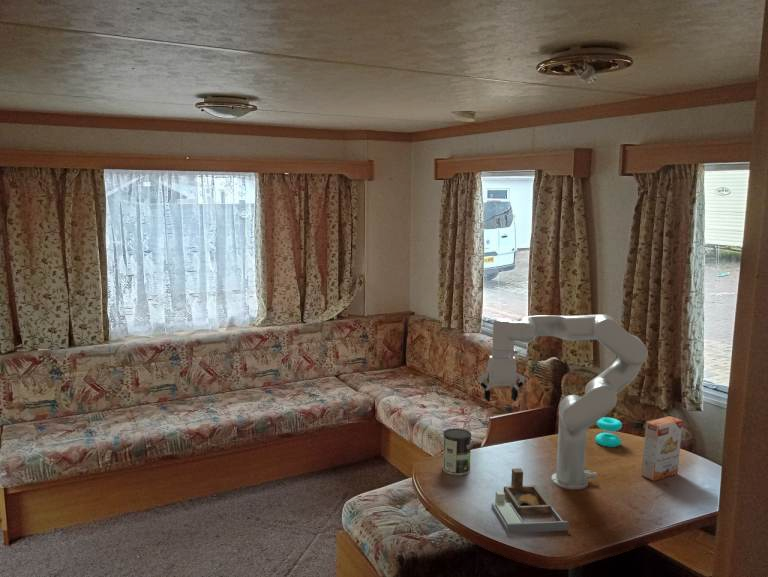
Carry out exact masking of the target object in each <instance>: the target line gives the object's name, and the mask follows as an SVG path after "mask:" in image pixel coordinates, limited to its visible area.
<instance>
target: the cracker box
mask: <svg viewBox="0 0 768 577" xmlns="http://www.w3.org/2000/svg"><path fill="white" fill-rule="evenodd" d="M683 422H684V420H682V419H680V418H677V417H674V416H664V417H660V418H657V419H653V420H648V421H646V422H645V431H644V441H643V454H642V463H641V475H642V477H644V478H646V479H648V478H649V479H648V480H650V479H651V481H652V480H653V482H656V481H658V479H659V480H662V479H664V478H663V477H665V478H667V477H666V476H668V477H670V476H669V475H671V476H673V475H672V474H674V473H677V472H678V470H679V462H680V452H681V444H682V443H681V442H682V433H683V425H684V424H683ZM677 474H678V473H677ZM641 475H640V476H641ZM661 478H662V479H661ZM655 480H656V481H655Z"/></svg>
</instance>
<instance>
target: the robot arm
mask: <svg viewBox="0 0 768 577" xmlns="http://www.w3.org/2000/svg"><path fill="white" fill-rule="evenodd" d="M492 324H493V325H492V343H491V344H492V347H491V349H492V350H491V355H489V357H488V361H487V368H486V372H485V373H484V374H482V375H480V376H478V377H477V380H478V382H479V384H480V386H481V387H482V388H483V389H484V396H483V397H484V399H485V400H486V401H487V403H488V402H491V390H490V389H491V388H492V387H493V386H497V387H498V386H512V388H511V400H513V401H514V402H515V401H517V398H518V393H519V392H518V391H519V390H520V388H521V387H522V386H523V385H524V383H525V381H526V378H527V377H525V376H524V375H522V374H520V373H519V372H517V362H516V357H515V355H517V354H518V350H517V349H515V342H520V343H525V344H528V343H531V342H533V341H534V340H535V339H536V338H537V337H554V338H558V339H561V340H564V341H571V342H572V341H591V340H593V341H594V340H597V342H599V343H600V344H601V345H602V346H603V347H605V348H606V350H609V352H611V353H612V354H614V355H615V356H616V359H615V360H614V361H613V363H612V364H611V365H610V366H608V367H607V368H606V369H605V370H604V371H602V372H600V373H599V374H597V376H595V377H593V378H592V379H591V380H590V381H588V383H586V384H585V386H584V393H585V394H583V396H580V395H577V394H569V395H566V396H564V398H563V399H562V400H561V401H560V404H559V406H558V433H557V434H558V435H557V437H558V438H557V448H556V449H557V450H556V451H557V453H556V469H555V471H556V472H555V473H553V474H552V475H551V482H552V484H554V485H555V486H557V487H559V488H563V489H566V490H583V489H585V488H587V487H588V485H589V479H598V473H597V472H596V471H594V472H591V470H589V469H587V470H585V464H586V449H587V438H588V437H587V435H588V434H587V433H588V432H587V431H588V428H590V427H592V425H594V424H597V421H598V420H600V419H601V418H603V417H605V416H607V415H608V414H609V413H610V412H612V410H613V409H614V408H615V406H616V404H617V402H618V396H617V395H618V394H619V393H620V392H621V391H623V390H624V389H625V388H626V387H627V386H629V385H630V384H631V383H632V382H633V381H634V380H636V378H637V376H638V374H639V373H640V371H641V368H642V366H643V364H644V363H645V362H646V361H647V358H648V356H649V351H648V348H647V346H646V344H644V342H643V341H642V340H641V339H640V338H639V337H638V335H637V336H636V335H635V334H631V333H629V332H628V331H627V330H626V329H625V328H623V327H622V325H620V324H619V323H618V322H617V321H616V320H615V319H614V318H613V317H612V316H611V315H609V314H600V313H599V314H584V315H529V316H522V317H520V318H519V319H518V320H517V321H514V320H513V319H511V318H504V317H501V318H495V319H494V321H493V323H492ZM485 379H486V383H485V382H484V380H485ZM518 379H519V381H517V380H518Z"/></svg>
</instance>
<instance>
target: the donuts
mask: <svg viewBox="0 0 768 577" xmlns="http://www.w3.org/2000/svg"><path fill="white" fill-rule="evenodd" d="M596 425H597V427H598V428H600V429H601V430H603V431H607V432H600V433H599V434H597V435H596V436H595V442H596V443H597V444H598V445H600V446H603V447H606V446H607V448H616V446H617V447H619V446H620V445H621V444H622V440H621V438H620V437H619V436H618V435H617V434H614V433H612V432H617V431H620V430H621V429H622V428H623V423H622V422H621V421H620V420H619V419H616V418H615V417H614V418H613V417H608V416H607V417H605V416H604V417H603V418H601V419H600V420H598V421H597V422H596ZM610 432H611V433H610Z"/></svg>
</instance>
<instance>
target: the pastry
mask: <svg viewBox="0 0 768 577" xmlns="http://www.w3.org/2000/svg"><path fill="white" fill-rule="evenodd" d="M516 501H517V502H518V504H519V505H520V506H532V505H539V501H538V500H537V497H536V496H534V495H533V494H521V495H520V496H519V498H517V500H516Z"/></svg>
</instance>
